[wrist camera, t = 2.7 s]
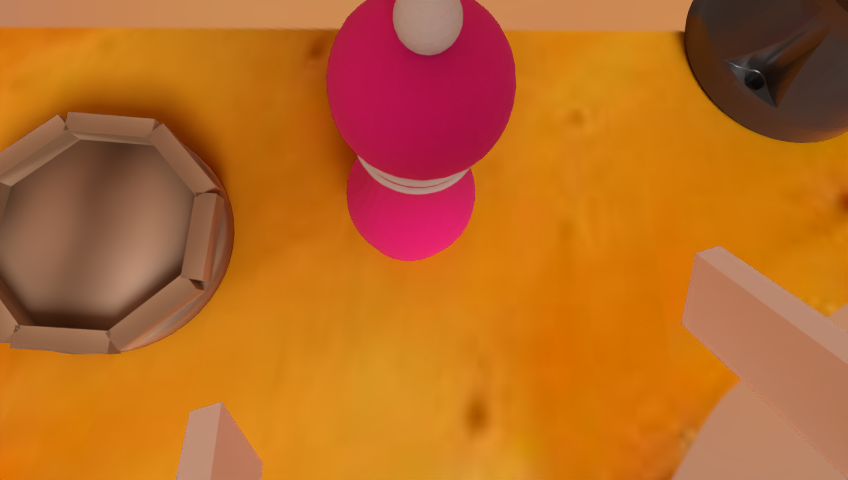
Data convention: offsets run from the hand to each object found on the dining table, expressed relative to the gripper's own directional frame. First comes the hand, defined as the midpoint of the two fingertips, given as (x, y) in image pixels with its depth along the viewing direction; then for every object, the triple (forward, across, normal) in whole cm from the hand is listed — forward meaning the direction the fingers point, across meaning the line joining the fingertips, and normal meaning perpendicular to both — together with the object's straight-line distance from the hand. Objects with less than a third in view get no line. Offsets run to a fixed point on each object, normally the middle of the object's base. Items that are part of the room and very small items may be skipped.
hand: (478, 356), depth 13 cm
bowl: (+20, -17, -3) cm, 26 cm away
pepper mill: (+18, +1, -6) cm, 19 cm away
